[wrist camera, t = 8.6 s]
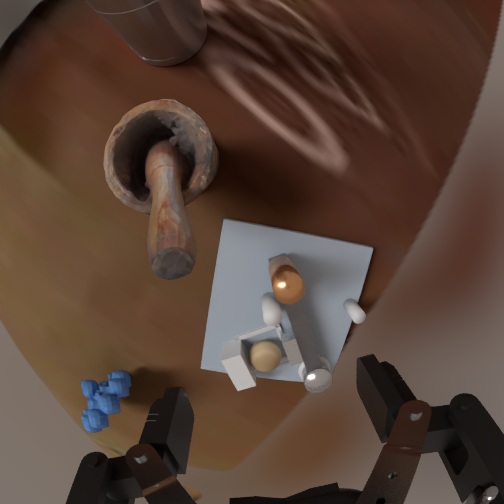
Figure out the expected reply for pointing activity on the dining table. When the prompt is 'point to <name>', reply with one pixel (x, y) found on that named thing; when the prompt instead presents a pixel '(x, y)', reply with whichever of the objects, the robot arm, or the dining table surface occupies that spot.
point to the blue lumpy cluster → (104, 399)
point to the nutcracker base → (254, 279)
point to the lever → (297, 324)
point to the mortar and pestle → (162, 176)
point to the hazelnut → (265, 355)
